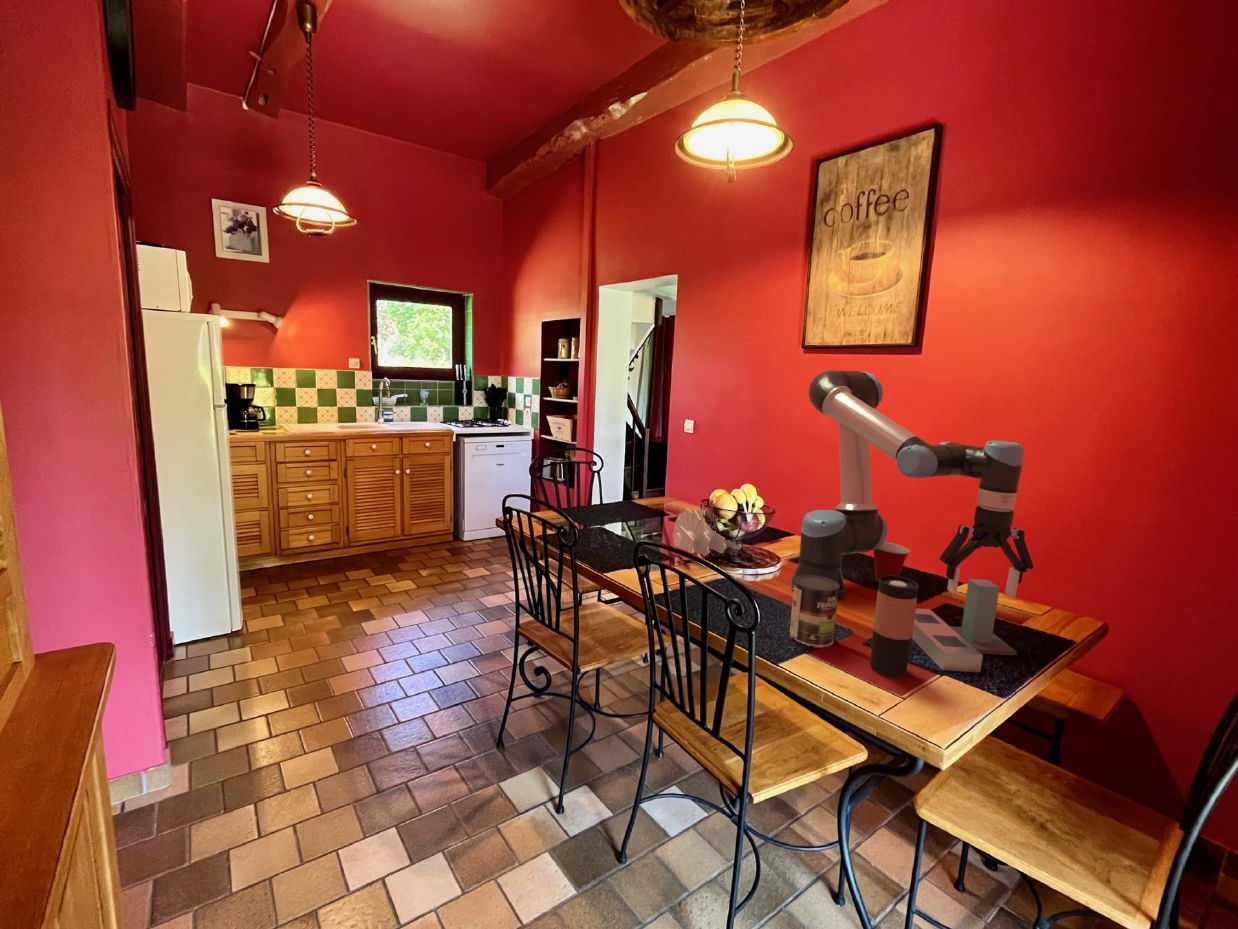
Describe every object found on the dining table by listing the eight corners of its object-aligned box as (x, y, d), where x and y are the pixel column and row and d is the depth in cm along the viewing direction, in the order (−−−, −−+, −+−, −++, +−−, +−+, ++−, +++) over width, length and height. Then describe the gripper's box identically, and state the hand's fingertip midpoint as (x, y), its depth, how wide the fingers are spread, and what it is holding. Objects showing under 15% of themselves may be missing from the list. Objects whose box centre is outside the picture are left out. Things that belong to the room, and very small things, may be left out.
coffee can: (843, 643, 135) (849, 586, 133) (811, 651, 130) (817, 593, 128) (810, 625, 144) (815, 572, 142) (779, 632, 139) (784, 577, 137)
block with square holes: (942, 670, 124) (944, 653, 123) (896, 622, 148) (898, 607, 147) (980, 672, 124) (982, 655, 123) (927, 624, 147) (929, 609, 147)
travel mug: (862, 660, 127) (872, 575, 124) (894, 660, 128) (905, 575, 124) (880, 678, 120) (891, 588, 116) (915, 678, 120) (926, 588, 117)
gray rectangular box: (971, 642, 136) (979, 586, 133) (960, 633, 140) (968, 579, 138) (990, 643, 135) (999, 587, 133) (980, 634, 140) (988, 580, 138)
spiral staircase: (669, 569, 193) (730, 557, 203) (695, 562, 177) (759, 550, 188) (658, 516, 197) (718, 507, 207) (683, 505, 181) (746, 496, 192)
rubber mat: (962, 652, 132) (963, 648, 132) (937, 629, 144) (938, 625, 144) (1016, 655, 132) (1016, 651, 132) (986, 632, 144) (986, 628, 143)
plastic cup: (912, 590, 170) (917, 552, 168) (876, 588, 170) (881, 550, 168) (896, 577, 181) (900, 541, 179) (862, 575, 181) (866, 539, 179)
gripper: (948, 508, 129) (935, 596, 133) (1061, 515, 128) (1045, 603, 132) (932, 500, 137) (920, 584, 141) (1039, 506, 135) (1024, 590, 139)
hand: (980, 593), depth 136 cm, fingers open, 13 cm apart
